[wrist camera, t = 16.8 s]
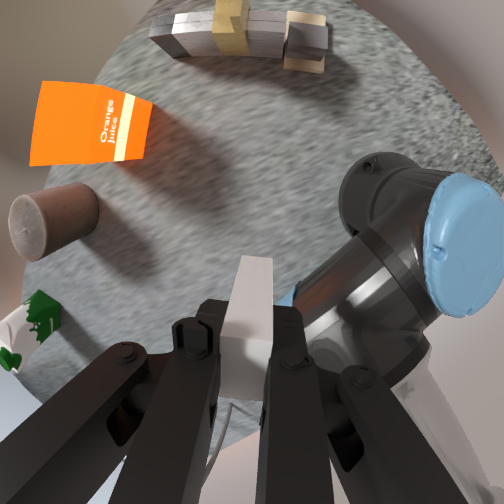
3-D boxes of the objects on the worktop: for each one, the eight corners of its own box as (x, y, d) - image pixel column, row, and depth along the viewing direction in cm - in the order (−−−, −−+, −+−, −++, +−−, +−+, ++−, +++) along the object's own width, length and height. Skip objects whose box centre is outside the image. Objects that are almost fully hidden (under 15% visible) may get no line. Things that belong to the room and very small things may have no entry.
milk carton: (63, 330, 51) (15, 383, 32) (37, 312, 50) (-13, 357, 31) (63, 302, 48) (6, 355, 29) (36, 283, 47) (-22, 327, 29)
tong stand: (323, 20, 29) (331, 0, 23) (322, 74, 32) (331, 60, 26) (287, 15, 29) (289, -6, 23) (283, 69, 32) (285, 53, 26)
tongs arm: (283, 40, 30) (286, 12, 22) (282, 48, 31) (285, 22, 22) (175, 41, 31) (152, 17, 22) (173, 49, 31) (150, 27, 23)
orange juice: (153, 103, 35) (69, 74, 16) (143, 159, 38) (53, 170, 19) (111, 102, 35) (21, 84, 16) (102, 154, 38) (9, 166, 19)
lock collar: (252, 22, 27) (245, -23, 16) (249, 55, 29) (240, 16, 18) (226, 22, 27) (210, -22, 16) (222, 55, 29) (202, 17, 18)
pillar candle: (100, 238, 43) (45, 271, 28) (61, 233, 43) (6, 260, 28) (99, 182, 39) (37, 197, 25) (59, 181, 40) (-1, 196, 25)
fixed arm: (282, 50, 31) (285, 22, 22) (281, 58, 32) (284, 32, 23) (174, 50, 32) (150, 27, 23) (172, 58, 32) (148, 37, 23)
